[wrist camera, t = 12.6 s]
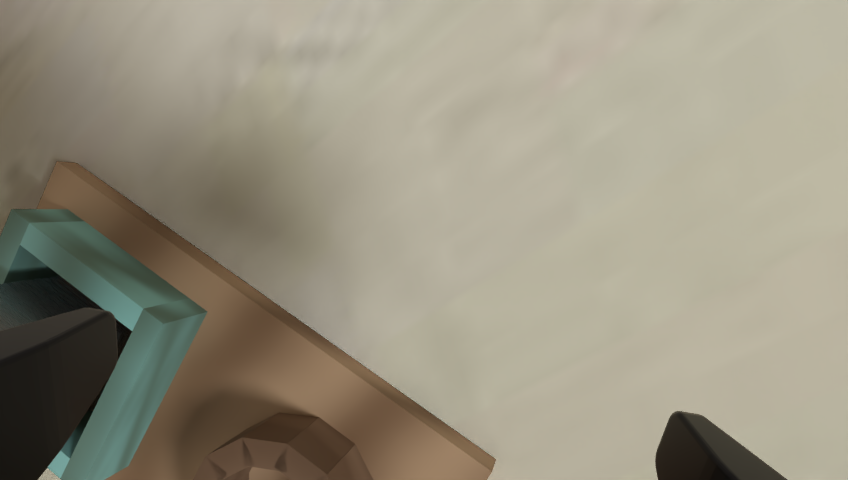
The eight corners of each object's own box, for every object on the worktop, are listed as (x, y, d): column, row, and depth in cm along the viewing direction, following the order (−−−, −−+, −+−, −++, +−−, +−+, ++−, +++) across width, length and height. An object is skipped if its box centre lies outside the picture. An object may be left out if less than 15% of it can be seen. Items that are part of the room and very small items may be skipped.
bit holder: (495, 459, 21) (479, 507, 17) (355, 670, 23) (316, 750, 19) (76, 163, 25) (-1, 156, 22) (-11, 362, 27) (-94, 383, 24)
